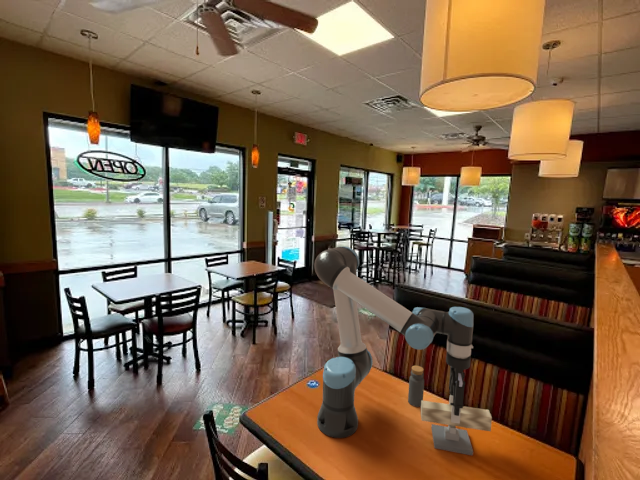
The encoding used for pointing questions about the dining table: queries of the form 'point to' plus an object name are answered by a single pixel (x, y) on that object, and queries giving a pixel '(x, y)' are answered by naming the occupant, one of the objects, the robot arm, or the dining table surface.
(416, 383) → the bottle
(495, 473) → the dining table surface
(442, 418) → the beam
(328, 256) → the robot arm
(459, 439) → the fulcrum
